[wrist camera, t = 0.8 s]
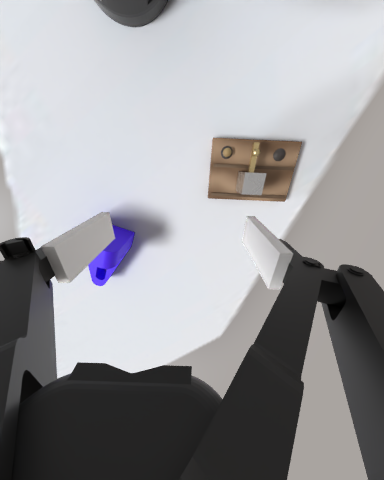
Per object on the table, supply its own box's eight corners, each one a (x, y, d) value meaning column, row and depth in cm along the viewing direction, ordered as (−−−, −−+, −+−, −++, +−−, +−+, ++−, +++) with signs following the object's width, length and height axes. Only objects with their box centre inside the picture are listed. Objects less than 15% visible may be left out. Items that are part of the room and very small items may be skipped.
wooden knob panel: (212, 139, 33) (214, 137, 31) (297, 142, 33) (305, 141, 31) (207, 197, 38) (208, 199, 36) (281, 200, 38) (287, 202, 36)
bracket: (94, 218, 41) (59, 236, 31) (134, 232, 43) (115, 254, 32) (87, 270, 49) (57, 300, 38) (122, 281, 50) (103, 312, 39)
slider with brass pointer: (242, 143, 32) (250, 140, 27) (262, 144, 32) (273, 141, 27) (235, 190, 36) (241, 194, 31) (253, 191, 36) (261, 195, 31)
